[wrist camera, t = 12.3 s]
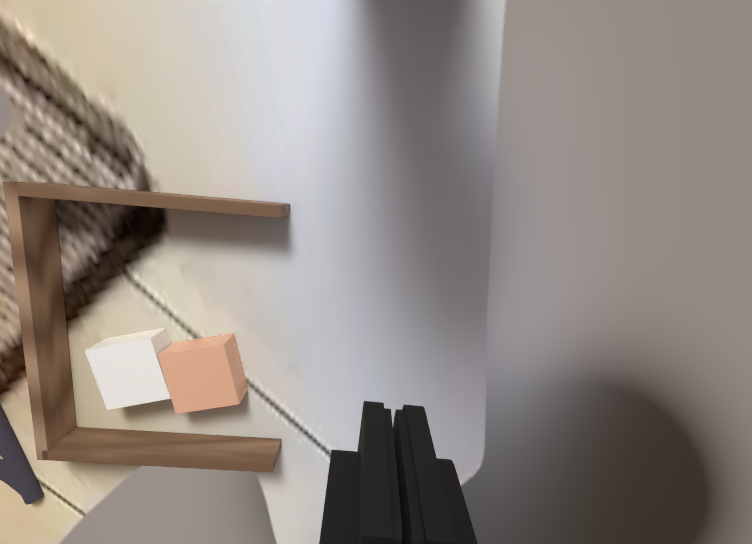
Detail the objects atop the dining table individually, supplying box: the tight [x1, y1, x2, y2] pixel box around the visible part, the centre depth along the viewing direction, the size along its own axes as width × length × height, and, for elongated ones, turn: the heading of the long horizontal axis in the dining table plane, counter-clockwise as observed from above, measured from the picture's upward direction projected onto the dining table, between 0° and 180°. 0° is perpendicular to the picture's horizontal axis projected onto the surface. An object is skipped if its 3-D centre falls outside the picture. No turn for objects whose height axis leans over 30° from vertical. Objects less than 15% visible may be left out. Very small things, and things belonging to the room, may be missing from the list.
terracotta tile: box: [158, 333, 248, 414], centre depth 35 cm, size 6×6×3 cm
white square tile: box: [85, 327, 172, 410], centre depth 35 cm, size 6×6×3 cm
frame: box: [3, 182, 290, 472], centre depth 34 cm, size 25×22×4 cm
